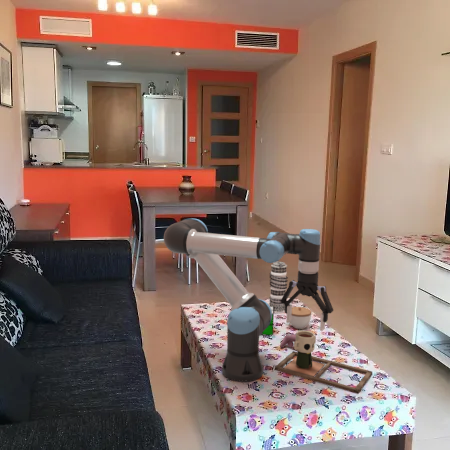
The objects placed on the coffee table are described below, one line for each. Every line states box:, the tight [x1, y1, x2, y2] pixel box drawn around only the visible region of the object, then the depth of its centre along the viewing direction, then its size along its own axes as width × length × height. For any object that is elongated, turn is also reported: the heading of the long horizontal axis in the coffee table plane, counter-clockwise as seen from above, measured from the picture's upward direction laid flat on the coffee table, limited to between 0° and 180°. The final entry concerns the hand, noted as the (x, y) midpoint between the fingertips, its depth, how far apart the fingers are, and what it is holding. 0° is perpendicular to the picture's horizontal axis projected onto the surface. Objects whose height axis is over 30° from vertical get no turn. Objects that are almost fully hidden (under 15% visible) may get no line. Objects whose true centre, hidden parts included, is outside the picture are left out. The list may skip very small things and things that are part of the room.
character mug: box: [293, 330, 317, 368], centre depth 187 cm, size 11×7×13 cm, turn 125°
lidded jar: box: [289, 306, 312, 330], centre depth 228 cm, size 11×11×9 cm
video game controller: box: [279, 333, 298, 352], centre depth 204 cm, size 10×5×7 cm, turn 50°
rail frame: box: [273, 350, 373, 394], centre depth 184 cm, size 17×32×1 cm, turn 58°
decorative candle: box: [268, 260, 289, 314], centre depth 248 cm, size 9×9×25 cm
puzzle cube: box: [261, 307, 275, 336], centre depth 222 cm, size 10×10×10 cm
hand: (305, 325), depth 185 cm, fingers open, 13 cm apart
